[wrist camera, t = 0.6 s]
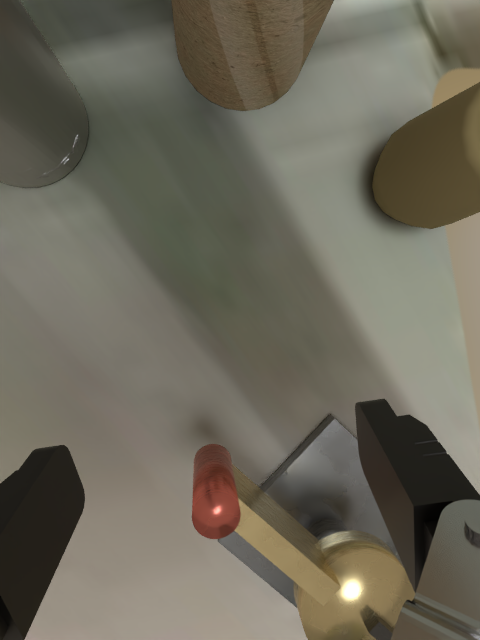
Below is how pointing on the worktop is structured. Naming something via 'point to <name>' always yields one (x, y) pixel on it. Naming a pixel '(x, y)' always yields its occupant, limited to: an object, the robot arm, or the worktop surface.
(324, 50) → the worktop surface
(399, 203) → the squeeze bottle
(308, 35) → the tube
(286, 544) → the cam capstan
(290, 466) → the stand
